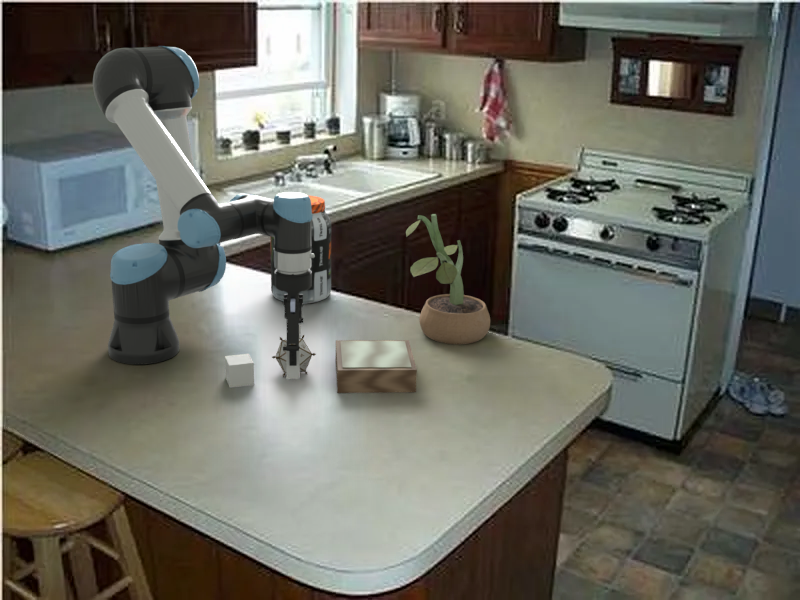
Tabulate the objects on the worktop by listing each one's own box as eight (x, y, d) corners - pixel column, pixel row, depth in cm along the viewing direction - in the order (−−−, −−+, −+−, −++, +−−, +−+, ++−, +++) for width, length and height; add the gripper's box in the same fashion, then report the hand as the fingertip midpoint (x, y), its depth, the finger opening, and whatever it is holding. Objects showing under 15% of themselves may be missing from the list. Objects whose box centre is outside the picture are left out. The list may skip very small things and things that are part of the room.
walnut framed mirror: (337, 392, 183) (337, 369, 181) (335, 361, 198) (335, 339, 196) (415, 392, 185) (416, 368, 183) (408, 361, 200) (408, 339, 198)
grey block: (229, 388, 184) (229, 365, 182) (225, 378, 188) (224, 356, 186) (254, 385, 185) (253, 362, 184) (249, 375, 190) (248, 353, 188)
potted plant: (462, 316, 228) (469, 199, 218) (503, 340, 213) (513, 216, 204) (383, 329, 218) (387, 207, 208) (421, 355, 203) (427, 226, 193)
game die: (299, 392, 191) (305, 369, 183) (263, 374, 192) (268, 350, 184) (317, 360, 197) (324, 336, 189) (282, 343, 197) (287, 318, 189)
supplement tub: (342, 299, 237) (343, 203, 228) (288, 309, 228) (287, 209, 220) (312, 283, 249) (312, 190, 240) (260, 291, 240) (259, 196, 232)
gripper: (311, 288, 173) (311, 389, 179) (311, 252, 196) (311, 342, 203) (272, 288, 172) (273, 390, 179) (276, 251, 195) (277, 342, 202)
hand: (293, 365), depth 191 cm, fingers open, 13 cm apart
